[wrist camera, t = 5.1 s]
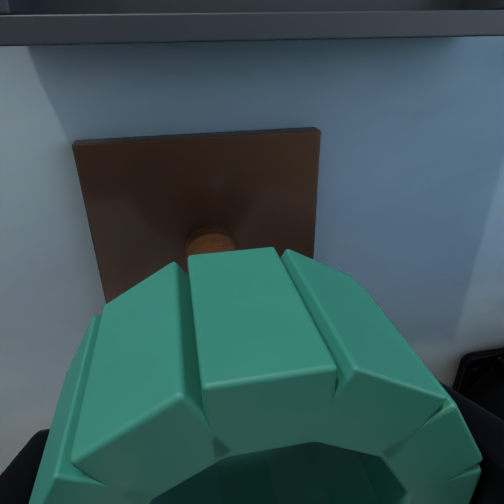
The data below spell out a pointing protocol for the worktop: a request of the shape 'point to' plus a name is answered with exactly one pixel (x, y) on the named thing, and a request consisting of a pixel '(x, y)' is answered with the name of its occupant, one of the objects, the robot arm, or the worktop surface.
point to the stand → (196, 198)
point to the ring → (252, 396)
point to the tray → (241, 20)
